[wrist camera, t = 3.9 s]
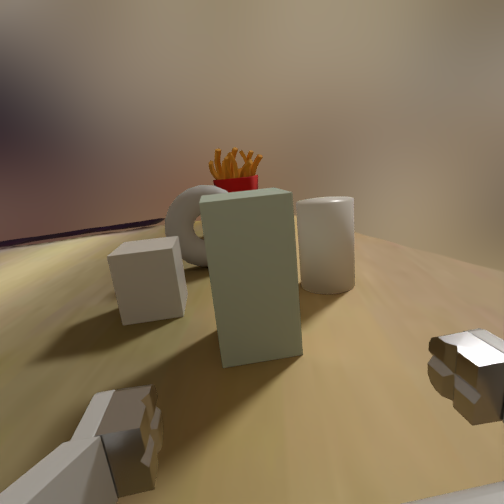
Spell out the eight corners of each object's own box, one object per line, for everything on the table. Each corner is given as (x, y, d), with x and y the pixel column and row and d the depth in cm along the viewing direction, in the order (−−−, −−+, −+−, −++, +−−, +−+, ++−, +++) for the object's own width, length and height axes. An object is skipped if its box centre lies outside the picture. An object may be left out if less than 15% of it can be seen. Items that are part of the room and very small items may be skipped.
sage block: (222, 368, 19) (199, 202, 16) (220, 328, 24) (201, 195, 21) (302, 354, 19) (292, 192, 17) (284, 318, 24) (274, 187, 22)
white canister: (310, 297, 27) (305, 206, 25) (295, 278, 32) (290, 200, 30) (364, 289, 28) (364, 199, 26) (341, 272, 33) (340, 195, 31)
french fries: (231, 228, 63) (221, 150, 59) (271, 226, 60) (264, 144, 56) (214, 239, 55) (202, 149, 51) (260, 237, 52) (251, 142, 48)
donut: (245, 255, 43) (237, 180, 40) (253, 261, 39) (245, 180, 37) (171, 269, 40) (156, 189, 37) (173, 277, 36) (158, 190, 34)
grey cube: (122, 325, 26) (106, 256, 24) (136, 301, 31) (123, 242, 29) (183, 316, 26) (172, 248, 25) (187, 294, 31) (178, 235, 30)
